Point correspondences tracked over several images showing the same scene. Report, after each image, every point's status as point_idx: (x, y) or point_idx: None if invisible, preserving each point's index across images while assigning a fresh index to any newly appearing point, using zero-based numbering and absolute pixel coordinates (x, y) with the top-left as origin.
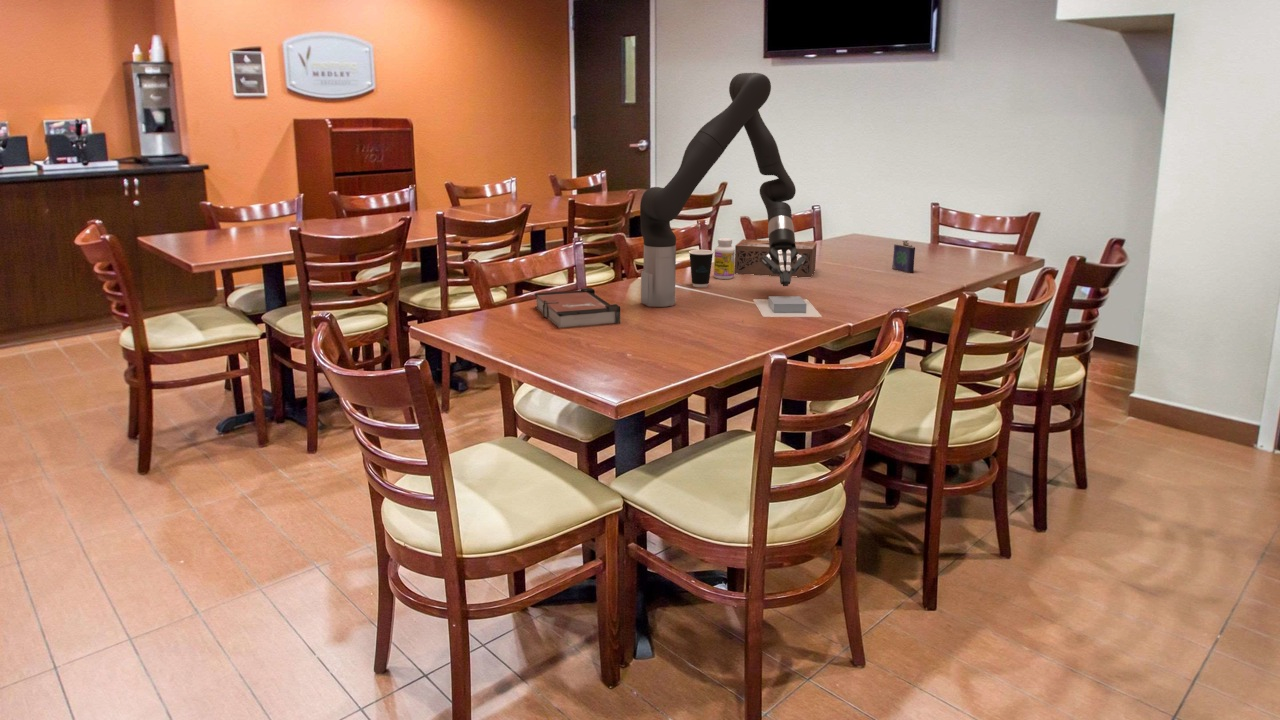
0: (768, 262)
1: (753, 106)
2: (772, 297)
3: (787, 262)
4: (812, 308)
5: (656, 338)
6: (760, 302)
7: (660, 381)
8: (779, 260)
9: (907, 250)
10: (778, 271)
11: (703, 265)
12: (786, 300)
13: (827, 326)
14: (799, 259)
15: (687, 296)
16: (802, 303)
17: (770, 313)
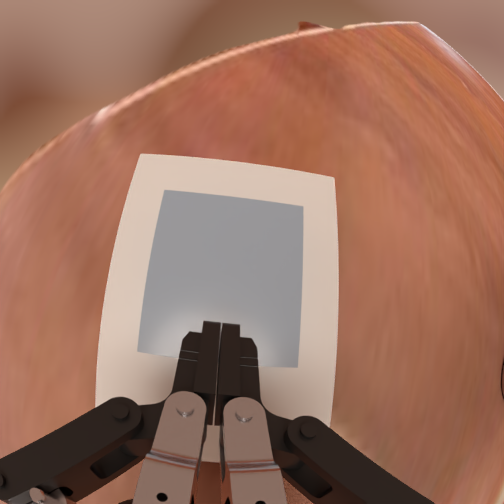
0: (383, 471)
1: None
2: (285, 337)
3: (183, 466)
4: (117, 275)
5: (471, 121)
6: (309, 407)
7: (412, 29)
8: (281, 494)
9: None
10: (275, 417)
11: None
12: (232, 265)
13: (168, 95)
14: (41, 475)
15: (466, 468)
16: (178, 198)
17: (305, 214)
